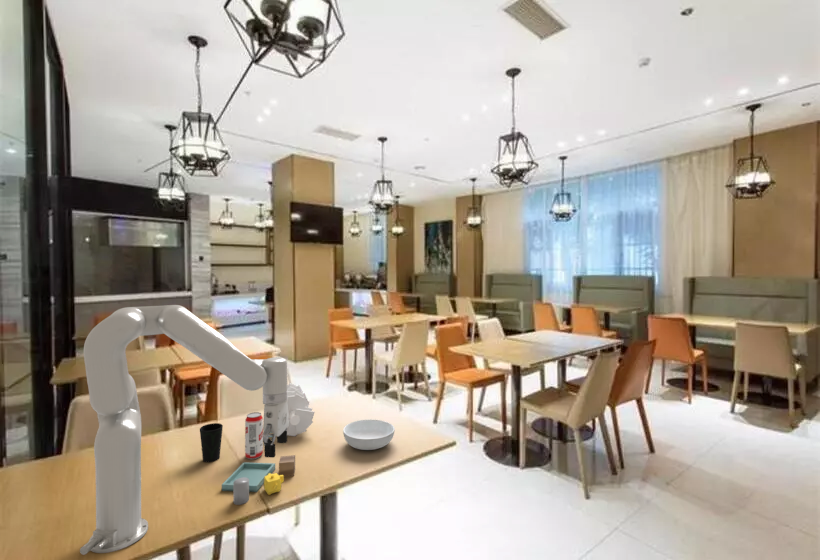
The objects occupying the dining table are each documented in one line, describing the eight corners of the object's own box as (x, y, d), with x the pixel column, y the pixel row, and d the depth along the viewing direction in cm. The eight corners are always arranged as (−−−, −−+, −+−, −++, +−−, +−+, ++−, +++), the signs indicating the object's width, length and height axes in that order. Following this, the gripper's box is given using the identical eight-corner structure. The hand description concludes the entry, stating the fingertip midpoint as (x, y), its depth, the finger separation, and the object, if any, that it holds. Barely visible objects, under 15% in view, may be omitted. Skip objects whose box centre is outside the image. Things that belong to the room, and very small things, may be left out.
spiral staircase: (283, 449, 162) (276, 425, 184) (322, 426, 168) (310, 405, 190) (263, 414, 157) (259, 393, 180) (304, 391, 163) (294, 373, 186)
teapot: (287, 493, 123) (287, 477, 123) (268, 499, 119) (268, 483, 119) (279, 482, 129) (279, 467, 129) (262, 487, 126) (261, 472, 126)
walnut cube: (294, 476, 133) (294, 461, 133) (278, 477, 132) (278, 463, 132) (295, 468, 138) (295, 455, 138) (280, 470, 137) (280, 456, 137)
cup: (213, 464, 141) (213, 432, 140) (194, 462, 142) (194, 430, 142) (227, 455, 148) (227, 424, 148) (209, 453, 150) (209, 422, 149)
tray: (257, 492, 123) (257, 485, 123) (221, 490, 124) (221, 484, 124) (275, 468, 138) (275, 463, 138) (243, 467, 139) (243, 462, 139)
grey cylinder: (244, 505, 117) (244, 485, 116) (230, 504, 117) (230, 484, 117) (251, 496, 121) (251, 477, 121) (237, 496, 121) (237, 477, 121)
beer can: (243, 461, 143) (244, 418, 143) (246, 453, 149) (246, 412, 149) (262, 459, 145) (262, 416, 145) (263, 451, 151) (263, 411, 151)
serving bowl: (401, 451, 152) (401, 434, 152) (349, 460, 145) (349, 442, 144) (385, 431, 172) (385, 416, 171) (338, 438, 164) (338, 422, 164)
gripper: (276, 406, 115) (277, 463, 116) (296, 388, 132) (297, 438, 133) (251, 406, 115) (252, 462, 116) (274, 388, 133) (275, 437, 133)
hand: (276, 449), depth 124 cm, fingers open, 9 cm apart
